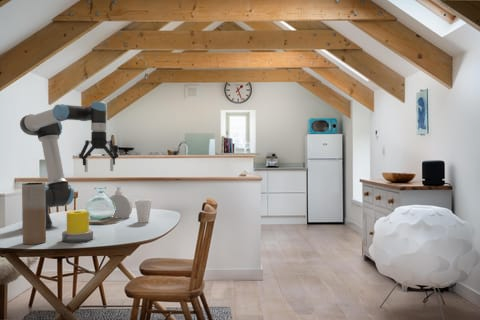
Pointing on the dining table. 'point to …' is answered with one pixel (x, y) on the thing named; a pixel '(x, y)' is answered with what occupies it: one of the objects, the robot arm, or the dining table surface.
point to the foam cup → (143, 210)
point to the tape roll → (77, 222)
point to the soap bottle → (121, 204)
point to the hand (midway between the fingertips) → (99, 171)
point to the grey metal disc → (77, 237)
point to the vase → (33, 213)
